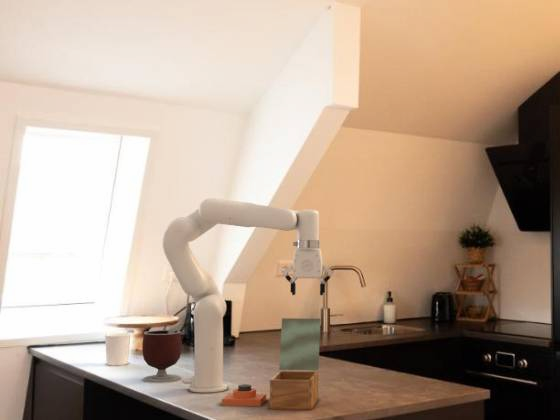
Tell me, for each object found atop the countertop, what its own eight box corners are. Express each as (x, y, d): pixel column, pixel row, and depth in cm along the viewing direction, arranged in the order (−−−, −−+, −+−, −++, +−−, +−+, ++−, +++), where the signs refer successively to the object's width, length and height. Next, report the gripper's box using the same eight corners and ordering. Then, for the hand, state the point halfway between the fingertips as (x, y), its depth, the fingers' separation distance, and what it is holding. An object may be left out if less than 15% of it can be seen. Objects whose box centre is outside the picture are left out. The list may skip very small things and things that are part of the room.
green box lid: (320, 318, 249) (320, 318, 250) (281, 318, 250) (282, 318, 251) (318, 369, 244) (318, 370, 245) (279, 369, 245) (279, 369, 246)
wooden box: (311, 409, 229) (311, 380, 229) (269, 409, 229) (270, 379, 230) (318, 398, 244) (318, 371, 245) (279, 398, 245) (279, 370, 245)
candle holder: (130, 361, 319) (130, 332, 319) (129, 365, 310) (130, 335, 310) (105, 362, 316) (105, 333, 316) (104, 366, 306) (104, 336, 307)
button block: (221, 405, 234) (222, 392, 235) (229, 399, 243) (229, 386, 244) (260, 406, 234) (260, 392, 234) (266, 399, 243) (266, 387, 243)
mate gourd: (159, 384, 269) (160, 327, 270) (133, 380, 277) (134, 324, 277) (192, 377, 282) (193, 323, 283) (167, 373, 290) (167, 321, 290)
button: (236, 392, 237) (236, 386, 237) (239, 389, 241) (239, 384, 241) (249, 392, 237) (249, 386, 237) (252, 390, 241) (252, 384, 241)
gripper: (281, 245, 260) (281, 295, 260) (332, 245, 260) (331, 296, 259) (285, 245, 268) (284, 294, 267) (334, 245, 267) (333, 294, 267)
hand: (307, 294), depth 263 cm, fingers open, 9 cm apart
